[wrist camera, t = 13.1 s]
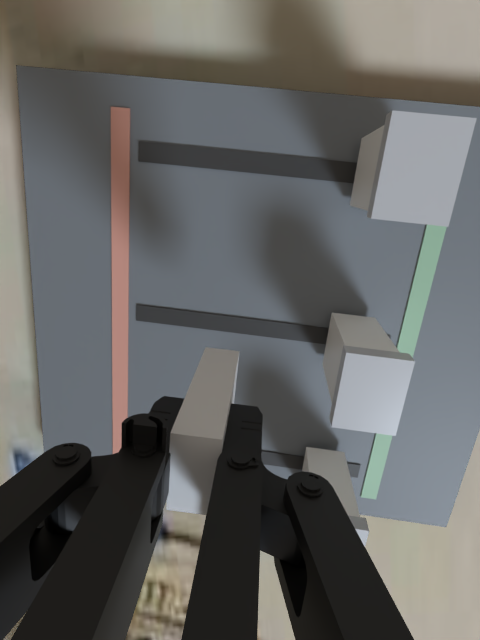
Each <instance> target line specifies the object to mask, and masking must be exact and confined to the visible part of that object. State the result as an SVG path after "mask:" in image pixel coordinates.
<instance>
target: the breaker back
mask: <svg viewBox="0 0 480 640" xmlns="http://www.w3.org/2000/svg"><path fill="white" fill-rule="evenodd" d="M302 471H303V472H312V473H315V474H317V475H320V476H322V477H323V478H325V479H326V480H328V482H329V483H330V484H331V485H332V487H333V488H334V490H335V492H336V494H337V496H338V498H339V499H340V501H341V503H342V505H343V507H344V509H345V511H346V513H347V515H348V516H349V518H350V520H351V522H352V524H353V526H354V528H355V530H356V531H357V533H358V535H359V537H360V539H361V541H362V543H363V545H364V547H365V545H366V541H367V537H368V533H369V529H368V525H367V521H366V518H362V517H360V515H359V510H358V506H357V502H356V498H355V494H354V490H353V486H352V482H351V477H350V473H349V469H348V465H347V461H346V457H345V453H344V452H340V451H333V450H326V449H319V448H312V447H306V451H305V457H304V462H303V468H302Z"/></svg>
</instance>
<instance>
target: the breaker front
mask: <svg viewBox="0 0 480 640" xmlns="http://www.w3.org/2000/svg"><path fill="white" fill-rule="evenodd" d="M476 119H477V118H470V117H459V116H448V115H437V114H426V113H415V112H404V111H393V110H392V111H391V112H389V113H388V114H387V115H386V120H385V125H383V126H382V127H380V128H378V129H377V130H375V131H373V132H371V133H370V134H368V135H366V136H365V137H363V138H362V139H361V145H360V151H359V156H358V162H357V167H356V173H355V178H354V184H353V190H352V195H351V201H350V206H353V207H356V208H360V209H363V210H367V211H368V213H367V217H368V218H371V219H379V220H389V221H398V222H407V223H417V224H426V225H435V226H445V227H448V226H449V223H450V219H451V215H452V211H453V207H454V203H455V200H456V196H457V192H458V188H459V184H460V180H461V177H462V173H463V169H464V165H465V161H466V157H467V154H468V150H469V146H470V142H471V138H472V134H473V131H474V127H475V123H476Z"/></svg>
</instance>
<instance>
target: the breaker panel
mask: <svg viewBox="0 0 480 640" xmlns="http://www.w3.org/2000/svg"><path fill="white" fill-rule="evenodd" d="M16 69H17V83H18V97H19V111H20V125H21V139H22V152H23V166H24V180H25V194H26V208H27V222H28V236H29V250H30V264H31V278H32V292H33V306H34V320H35V333H36V347H37V361H38V375H39V389H40V403H41V417H42V431H43V445H44V453H45V452H46V451H47V450H49V449H51V448H53V447H54V446H57V445H61V444H64V443H79V444H83V445H85V446H87V447H88V448H89V449H90V451H91V457H92V456H103V455H110V454H115V453H118V452H119V450H120V449H121V445H122V422H123V421H124V420H125V419H126V418H128V417H130V416H132V415H136V414H141V413H149V412H150V410H151V408H152V406H153V404H154V402H156V401H157V400H159V399H160V398H161V397H163V396H168V397H176V398H184V399H185V396H186V394H187V391H188V389H189V386H190V384H191V382H192V379H193V377H194V374H195V372H196V369H197V367H198V365H199V362H200V360H201V357H202V355H203V352H204V350H205V348H206V347H208V348H216V349H225V350H233V351H239V361H238V370H237V379H236V389H235V398H234V404H241V405H249V406H257V407H258V408H259V410H260V411H261V413H262V414H263V423H262V452H261V458H262V462H263V464H264V466H265V467H266V468H267V469H268V470H269V471H270V472H272V473H273V474H275V475H277V476H279V477H282V478H284V479H288V477H289V476H291V475H292V474H294V473H297V472H302V468H303V462H304V457H305V451H306V447H312V448H319V449H326V450H333V451H340V452H344V453H345V457H346V461H347V465H348V469H349V473H350V477H351V482H352V486H353V490H354V494H355V498H356V502H357V506H358V510H359V514H361V515H368V516H374V517H381V518H388V519H394V520H401V521H408V522H415V523H421V524H428V525H435V526H441V527H446V526H447V523H448V520H449V517H450V514H451V512H452V509H453V506H454V503H455V500H456V497H457V494H458V491H459V488H460V485H461V482H462V479H463V476H464V473H465V470H466V467H467V464H468V461H469V459H470V456H471V453H472V450H473V447H474V444H475V441H476V438H477V435H478V432H479V429H480V107H476V106H465V105H453V104H442V103H431V102H420V101H409V100H398V99H387V98H375V97H364V96H353V95H342V94H331V93H320V92H308V91H297V90H286V89H275V88H264V87H253V86H241V85H230V84H219V83H208V82H197V81H186V80H175V79H163V78H152V77H141V76H130V75H119V74H108V73H96V72H85V71H74V70H63V69H52V68H41V67H29V66H18V65H16ZM392 110H393V111H404V112H415V113H426V114H437V115H448V116H459V117H470V118H477V119H476V123H475V127H474V131H473V134H472V138H471V142H470V146H469V150H468V154H467V157H466V161H465V165H464V169H463V173H462V177H461V180H460V184H459V188H458V192H457V196H456V200H455V203H454V207H453V211H452V215H451V219H450V223H449V226H448V227H445V226H435V225H426V224H417V223H407V222H398V221H389V220H379V219H371V218H368V217H367V213H368V211H367V210H363V209H360V208H356V207H353V206H350V201H351V195H352V190H353V184H354V178H355V173H356V167H357V162H358V156H359V151H360V145H361V139H362V138H363V137H365V136H366V135H368V134H370V133H371V132H373V131H375V130H377V129H378V128H380V127H382V126H383V125H385V120H386V115H387V114H388V113H389V112H391V111H392ZM332 313H340V314H349V315H357V316H365V317H373V318H375V319H376V320H377V321H378V323H379V324H380V325H381V327H382V328H383V330H384V331H385V332H386V334H387V335H388V337H389V338H390V339H391V341H392V342H393V344H394V345H395V346H396V348H397V349H398V350H399V352H400V353H408V354H410V355H411V357H412V358H413V359H414V360H415V364H414V368H413V372H412V375H411V379H410V383H409V387H408V391H407V394H406V398H405V402H404V406H403V410H402V414H401V417H400V421H399V425H398V429H397V433H396V436H392V435H384V434H377V433H370V432H362V431H355V430H348V429H340V428H333V427H331V423H330V419H329V416H330V411H331V406H332V402H331V398H330V394H329V390H328V385H327V381H326V377H325V373H324V369H323V358H324V352H325V347H326V341H327V336H328V330H329V325H330V319H331V314H332Z"/></svg>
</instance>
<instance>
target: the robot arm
mask: <svg viewBox="0 0 480 640" xmlns="http://www.w3.org/2000/svg"><path fill="white" fill-rule="evenodd" d="M238 361H239V351H233V350H225V349H216V348H208V347H206V348H205V350H204V352H203V355H202V357H201V360H200V362H199V365H198V367H197V369H196V372H195V374H194V377H193V379H192V382H191V384H190V386H189V389H188V391H187V394H186V396H185V399H184V398H176V397H168V396H163V397H161V398H160V399H159V400H157V401H156V402H154V404H153V406H152V408H151V410H150V412H149V413H141V414H136V415H132V416H130V417H128V418H126V419H125V420H124V421H123V422H122V445H121V449H120V450H119V452H118V453H115V454H110V455H103V456H92V457H91V451H90V449H89V448H88V447H87V446H85V445H83V444H79V443H64V444H61V445H57V446H54V447H53V448H51V449H49V450H47V451H46V452H45V453H43V454H42V455H41V456H39V457H38V458H37V459H35V460H34V461H33V462H32V463H30V464H29V465H28V466H26V467H25V468H24V469H22V470H21V471H20V472H18V473H17V474H16V475H15V476H13V477H12V478H11V479H9V480H8V481H7V482H5V483H4V484H3V485H1V486H0V640H3V639H4V637H5V636H6V635H7V634H8V633H9V632H10V630H11V629H12V628H13V627H14V626H15V624H16V623H17V622H18V621H19V620H20V619H21V617H22V616H23V615H24V614H25V613H26V614H25V616H24V618H23V619H22V621H21V623H20V625H19V626H18V628H17V630H16V632H15V633H14V635H13V637H12V639H11V640H125V638H126V635H127V632H128V629H129V626H130V623H131V620H132V616H133V613H134V610H135V607H136V604H137V601H138V598H139V595H140V592H141V588H142V585H143V582H144V579H145V576H146V573H147V570H148V567H149V563H150V560H151V557H152V554H153V551H154V548H155V545H156V542H157V538H158V535H159V532H160V529H161V526H162V521H163V508H164V505H165V502H166V499H167V507H166V510H173V511H181V512H188V513H195V514H203V515H206V520H205V525H204V530H203V535H202V540H201V545H200V550H199V555H198V560H197V565H196V569H195V574H194V579H193V584H192V589H191V594H190V599H189V604H188V609H187V614H186V619H185V624H184V629H183V634H182V639H181V640H257V623H258V592H259V561H260V550H261V551H263V552H265V553H267V554H270V555H272V556H274V563H275V567H276V570H277V574H278V577H279V581H280V585H281V588H282V592H283V596H284V599H285V603H286V607H287V610H288V614H289V618H290V621H291V625H292V629H293V632H294V636H295V639H296V640H414V639H413V637H412V635H411V633H410V631H409V629H408V627H407V626H406V624H405V622H404V620H403V618H402V616H401V614H400V612H399V611H398V609H397V607H396V605H395V603H394V601H393V599H392V597H391V595H390V594H389V592H388V590H387V588H386V586H385V584H384V582H383V580H382V579H381V577H380V575H379V573H378V571H377V569H376V567H375V565H374V563H373V562H372V560H371V558H370V556H369V554H368V552H367V550H366V548H365V547H364V545H363V543H362V541H361V539H360V537H359V535H358V533H357V531H356V530H355V528H354V526H353V524H352V522H351V520H350V518H349V516H348V515H347V513H346V511H345V509H344V507H343V505H342V503H341V501H340V499H339V498H338V496H337V494H336V492H335V490H334V488H333V487H332V485H331V484H330V483H329V482H328V480H326V479H325V478H323V477H322V476H320V475H317V474H315V473H312V472H303V471H302V472H297V473H294V474H292V475H291V476H289V477H288V479H284V478H282V477H279V476H277V475H275V474H273V473H272V472H270V471H269V470H268V469H267V468H266V467H265V466H264V464H263V462H262V458H261V452H262V423H263V414H262V413H261V411H260V410H259V408H258V407H257V406H249V405H241V404H234V398H235V389H236V379H237V370H238ZM27 610H28V611H27ZM26 611H27V612H26Z"/></svg>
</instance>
